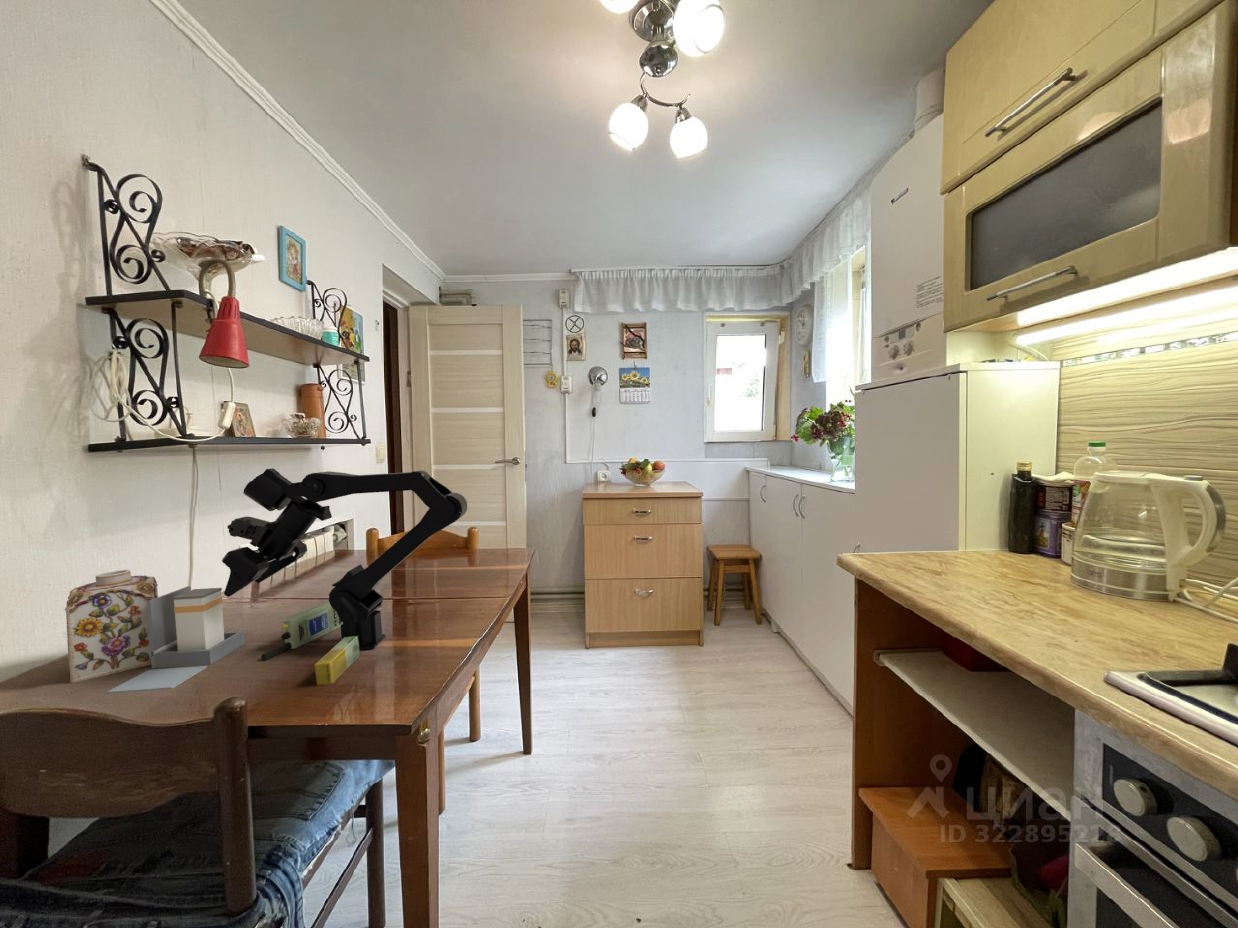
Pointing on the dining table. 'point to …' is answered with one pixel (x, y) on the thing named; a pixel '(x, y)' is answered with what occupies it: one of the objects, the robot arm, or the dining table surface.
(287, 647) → the handheld radio
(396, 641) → the dining table surface
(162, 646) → the case
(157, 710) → the dining table surface
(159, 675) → the pad
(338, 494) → the robot arm
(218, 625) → the block
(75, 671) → the decorative jar
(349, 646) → the medication box
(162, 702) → the dining table surface
